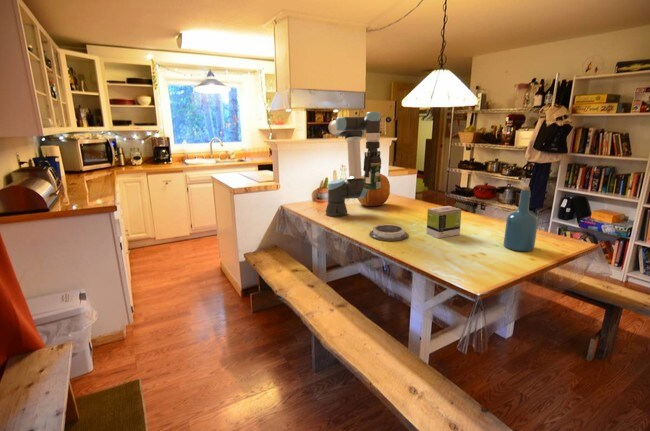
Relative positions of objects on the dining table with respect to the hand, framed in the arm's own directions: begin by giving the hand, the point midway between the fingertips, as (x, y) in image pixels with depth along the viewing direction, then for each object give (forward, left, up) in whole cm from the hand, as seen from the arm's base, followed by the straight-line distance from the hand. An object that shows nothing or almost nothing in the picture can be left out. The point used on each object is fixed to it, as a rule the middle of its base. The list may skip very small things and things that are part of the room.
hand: (372, 182), depth 190 cm
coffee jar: (0, 0, -4) cm, 4 cm away
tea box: (-14, +37, -28) cm, 49 cm away
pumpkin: (-56, -30, -28) cm, 69 cm away
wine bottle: (-13, +74, -28) cm, 80 cm away
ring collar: (+4, +13, -28) cm, 31 cm away
